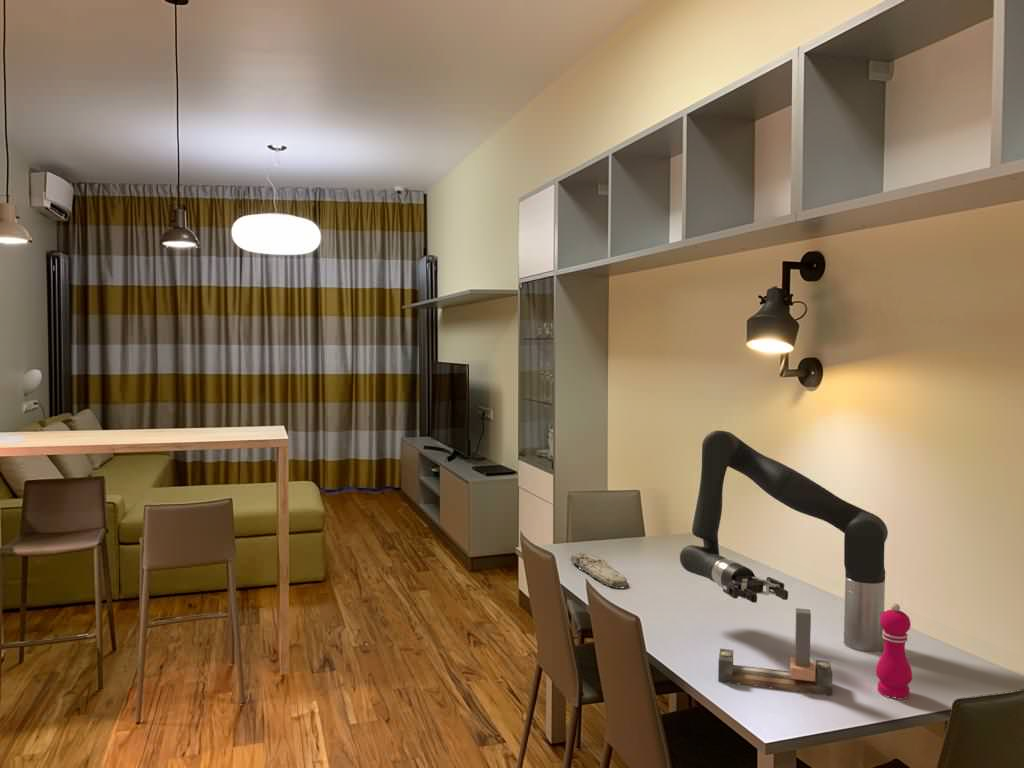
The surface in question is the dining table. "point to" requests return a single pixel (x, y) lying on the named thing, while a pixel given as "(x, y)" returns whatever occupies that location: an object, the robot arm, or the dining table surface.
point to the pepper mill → (894, 654)
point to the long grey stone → (599, 569)
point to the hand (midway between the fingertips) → (771, 597)
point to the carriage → (802, 648)
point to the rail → (774, 676)
